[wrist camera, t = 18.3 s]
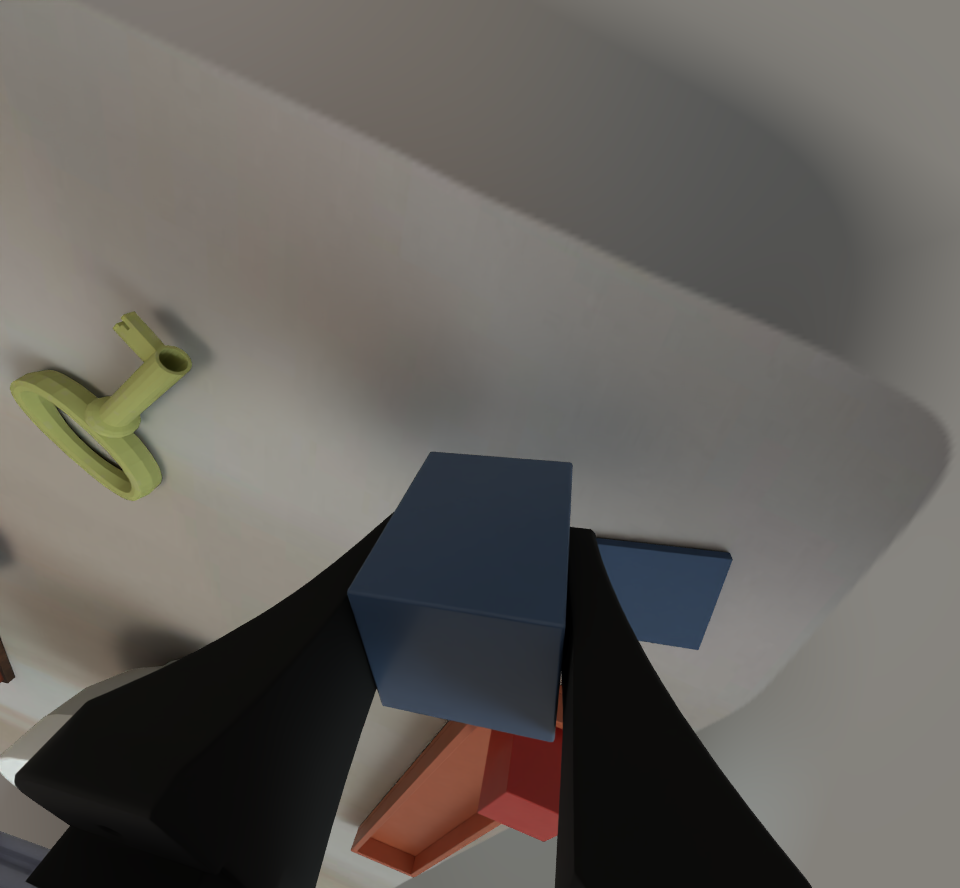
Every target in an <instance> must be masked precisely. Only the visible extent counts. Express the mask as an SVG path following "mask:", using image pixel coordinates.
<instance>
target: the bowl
mask: <svg viewBox="0 0 960 888" xmlns="http://www.w3.org/2000/svg"><path fill="white" fill-rule="evenodd" d="M175 661H177V660H174V661H171V662H169V663H167V664H166V665H165V666H167V665H169V664H171V663H173V662H175ZM165 666H157V667H146V668H137V669H133V670H129V671H126V672H124V673H121V674H119V675H116V676H114V677H111V678H109V679H106V680H104V681H101V682H99V683H96V684H94V685H92V686H89V687H87V688H85V689H84V690H82V691H81V692H79V693H78V694H77V695H75V696H74V697H72V698H71V699H69V700H68V701H67V702H65V703H64V704H62V705H61V706H60V707H58V708H57V709H55V710H54V711H53V712H51V713H50V714H48V715H47V716H45V717H43V718H42V719H41V720H40V721H39V722H38V723H37V724H35V725H34V726H33V727H32V728H31V729H30V730H29V731H27V732H26V733H25V734H24V735H23V736H22V737H21V738H19V739H18V740H17V741H16V742H15V743H14V744H13V745H11V746H10V747H9V748H8V749H7V750H6V751H5V752H3V753H2V754H1V755H0V773H1V774H2V775H3V776H4V777H5V778H6V779H7V780H8V781H10V782H11V783H12V784H13V785H14V786H15V782H14V780H15V774H16V773H17V772H18V771H19V770H20V769H21V768H22V767H23V766H24V765H25V764H26V763H27V762H28V761H29V760H30V759H31V758H32V757H33V756H34V755H35V754H36V753H37V752H38V751H39V749H40V748H41V747H42V746H43V745H44V744H45V743H46V742H47V741H48V740H49V739H50V738H51V737H52V736H53V735H54V734H55V733H56V732H57V731H58V730H59V729H60V728H61V727H62V726H63V725H64V724H65V723H66V722H67V721H68V720H69V719H70V718H71V717H72V716H73V715H74V714H75V713H76V712H77V711H78V710H79V709H80V708H81V707H82V706H83V705H84V704H85V703H86V702H87V701H88V700H91V699H93V698H95V697H98V696H100V695H103V694H105V693H107V692H109V691H112V690H114V689H116V688H118V687H121V686H123V685H125V684H127V683H130V682H132V681H134V680H136V679H139V678H141V677H143V676H146V675H148V674H150V673H152V672H154V671H156V670H159V669H161V668H163V667H165Z"/></svg>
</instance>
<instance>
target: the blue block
mask: <svg viewBox="0 0 960 888" xmlns="http://www.w3.org/2000/svg"><path fill="white" fill-rule="evenodd" d="M572 468H573V465H572V463H570V462H558V461H545V460H533V459H520V458H507V457H494V456H481V455H469V454H456V453H443V452H430V453H429V455H428V457H427V458H426V460H425V462H424V463H423V465H422V467H421V468H420V470H419V472H418V473H417V475H416V477H415V478H414V480H413V482H412V483H411V485H410V487H409V488H408V490H407V492H406V493H405V495H404V497H403V498H402V500H401V502H400V503H399V505H398V507H397V508H396V510H395V512H394V513H393V515H392V517H391V518H390V520H389V522H388V523H387V525H386V527H385V529H384V530H383V532H382V534H381V535H380V537H379V539H378V540H377V542H376V544H375V545H374V547H373V549H372V550H371V552H370V554H369V555H368V557H367V559H366V560H365V562H364V564H363V565H362V567H361V569H360V570H359V572H358V574H357V575H356V577H355V579H354V580H353V582H352V584H351V585H350V587H349V589H348V591H347V595H348V598H349V601H350V605H351V608H352V611H353V614H354V617H355V620H356V624H357V627H358V630H359V633H360V636H361V639H362V643H363V646H364V649H365V652H366V655H367V658H368V661H369V665H370V668H371V671H372V674H373V677H374V680H375V684H376V687H377V690H378V693H379V696H380V699H381V703H382V705H383V706H387V707H392V708H396V709H401V710H405V711H410V712H414V713H419V714H424V715H428V716H433V717H437V718H442V719H447V720H451V721H456V722H460V723H465V724H469V725H474V726H479V727H483V728H488V729H492V730H497V731H502V732H506V733H511V734H515V735H520V736H524V737H529V738H534V739H538V740H543V741H547V742H554V739H555V730H556V720H557V709H558V699H559V689H560V678H561V668H562V658H563V647H564V637H565V627H566V604H567V582H568V559H569V536H570V513H571V490H572Z"/></svg>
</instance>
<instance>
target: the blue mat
mask: <svg viewBox="0 0 960 888" xmlns="http://www.w3.org/2000/svg"><path fill="white" fill-rule="evenodd" d="M596 540H597V544H598V548H599V551H600V554H601V557H602V560H603V563H604V566H605V569H606V571H607V574H608V577H609V579H610V582H611V584H612V586H613V589H614V591H615V593H616V596H617V598H618V600H619V602H620V605H621V607H622V609H623V611H624V613H625V615H626V618H627V620H628V622H629V624H630V626H631V628H632V630H633V631H634V633H635V635H636V637H637V639H638V641H644V642H651V643H657V644H663V645H670V646H676V647H682V648H689V649H695V650H699V647H700V644H701V642H702V639H703V636H704V634H705V631H706V628H707V626H708V623H709V621H710V618H711V615H712V613H713V610H714V607H715V605H716V602H717V599H718V597H719V594H720V592H721V589H722V586H723V584H724V581H725V578H726V576H727V573H728V570H729V568H730V565H731V562H732V557H731V554H730V553H728V552H719V551H710V550H701V549H692V548H683V547H674V546H665V545H656V544H647V543H638V542H629V541H620V540H611V539H602V538H596Z"/></svg>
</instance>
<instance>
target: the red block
mask: <svg viewBox="0 0 960 888" xmlns="http://www.w3.org/2000/svg"><path fill="white" fill-rule="evenodd" d="M562 735H563V729H561V728H558V727H556V730H555V739H554V742H547V741H543V740H538V739H534V738H529V737H524V736H520V735H515V734H511V733H506V732H502V731H497V730H492V729H491V734H490V740H489V746H488V752H487V758H486V764H485V770H484V775H483V781H482V787H481V793H480V799H479V805H478V811H477V813H478V814H481V815H483V816H485V817H488V818H490V819H492V820H495V821H497V822H499V823H502V824H504V825H506V826H508V827H511V828H513V829H515V830H518V831H520V832H522V833H525V834H527V835H529V836H532V837H534V838H536V839H539V840H541V841H543V842H545V841H546V840H549V839H551V838H553V837H555V836H557V835H558V818H559V797H560V777H561V756H562Z"/></svg>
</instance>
